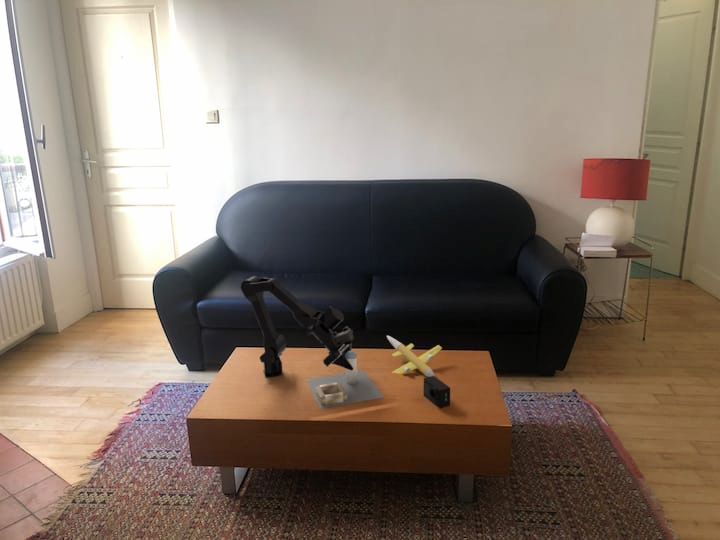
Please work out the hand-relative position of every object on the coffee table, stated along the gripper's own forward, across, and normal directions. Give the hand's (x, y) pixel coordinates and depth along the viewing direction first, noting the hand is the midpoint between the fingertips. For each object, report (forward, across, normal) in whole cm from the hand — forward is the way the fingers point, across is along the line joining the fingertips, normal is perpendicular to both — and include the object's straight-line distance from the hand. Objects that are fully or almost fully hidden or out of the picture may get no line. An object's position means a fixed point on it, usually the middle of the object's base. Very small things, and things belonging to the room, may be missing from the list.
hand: (354, 366), depth 199 cm
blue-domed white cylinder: (+3, 0, +5) cm, 6 cm away
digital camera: (+27, -4, -17) cm, 32 cm away
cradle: (+2, -13, +8) cm, 16 cm away
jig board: (+3, -6, +7) cm, 9 cm away
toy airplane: (+17, +20, -6) cm, 27 cm away
